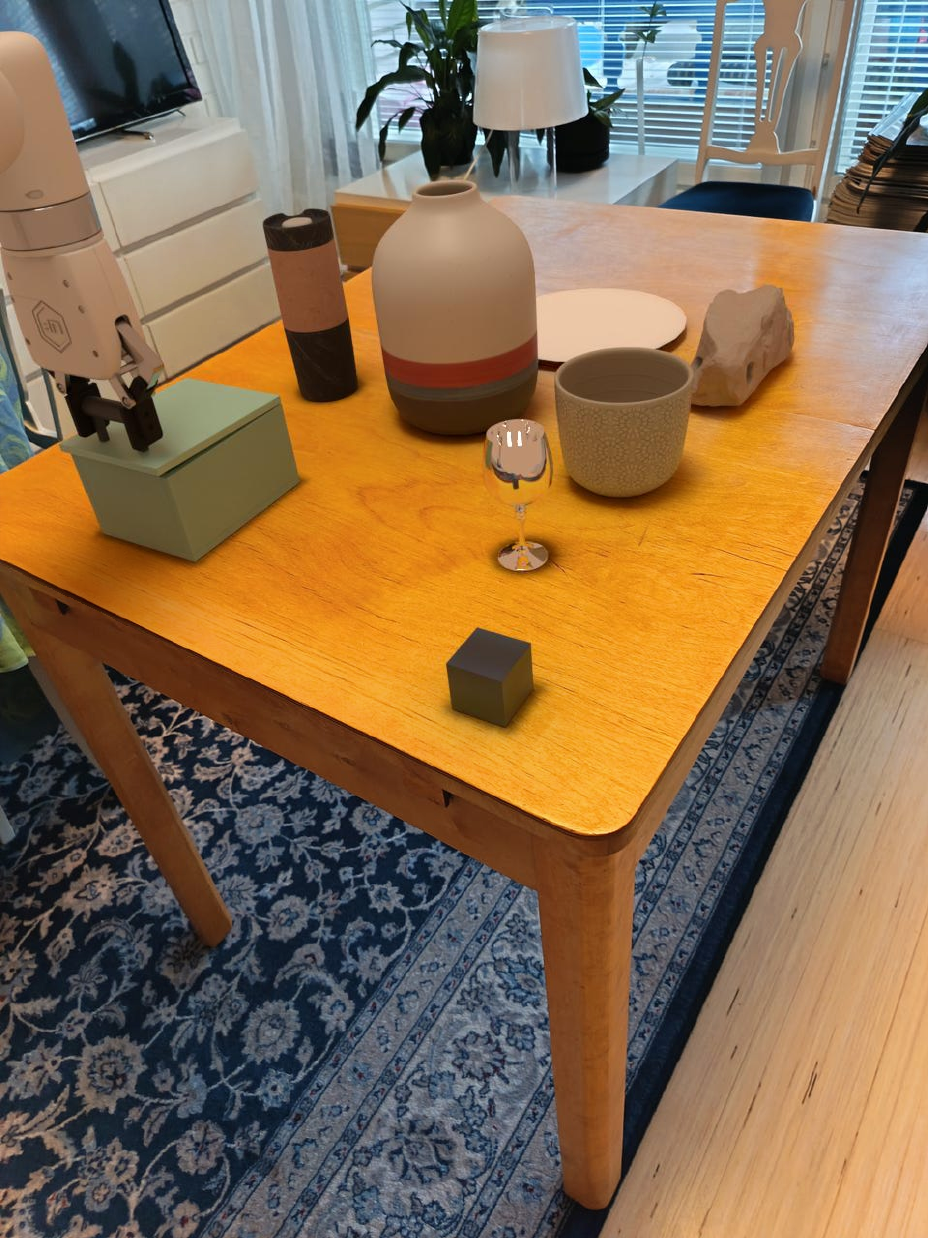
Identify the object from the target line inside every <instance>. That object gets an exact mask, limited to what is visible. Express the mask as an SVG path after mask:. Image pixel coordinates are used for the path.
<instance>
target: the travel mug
mask: <svg viewBox="0 0 928 1238" xmlns="http://www.w3.org/2000/svg"><path fill="white" fill-rule="evenodd" d="M331 217H332V216H331V214H330V212H329V211H328V210H326V209H323V208H315V207H314V208H313V207H310V208H305V209H304V210H303V211H302V212H301V213H299V214H296V215H287V214H286V213H284V212H277V213H275V214H272V215H270V216H267V217H266V218H264V219H263V220H262V229H263V234H264V239H265V244H266V248H267V249H266V250H267V253H268V258H269V259H268V260H269V263H270V268H271V273H272V277H273V283H274V287H275V292H276V296H277V301H278V306H279V311H280V316H281V321H282V325H283V328H284V329H283V330H284V334H285V337H286V341H287V345H288V346H287V347H288V350H289V353H290V358H291V361H292V365H293V369H294V374H295V377H296V381H297V385H298V388H299V392H300V395H301V397H302V398H303V399H305V400H307V401H310V402H315V403H316V402H317V403H318V402H319V403H325V402H332V401H338V400H341V399H344V398H346V397H348V396H351V395H352V394H354V393H355V392H356V391H357V389H358V387H359V381H358V373H357V367H356V359H355V353H354V345H353V338H352V332H351V331H352V330H351V323H350V316H349V311H348V305H347V300H346V295H345V288H344V283H343V279H342V273H341V268H340V267H341V266H340V262H339V256H338V249H337V246H336V239H335V235H334V229H333V224H332V223H333V222H332V218H331Z"/></svg>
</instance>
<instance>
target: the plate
mask: <svg viewBox="0 0 928 1238" xmlns="http://www.w3.org/2000/svg"><path fill="white" fill-rule="evenodd" d="M536 310H537V337H538V362H543V363H551V364H558V365H559V364H561V365H562V364H564V363H565V362H567V361H568V360H570V359H572V358H574V357H576V356H579V355H581V354H584V353H587V352H591V351H595V350H601V349H607V348H617V347H641V348H650V349H656V350H660V349H662V348H663V347H665V346H667V345H669V344H672V343H673V342H674V341H676V340H677V339H678V338H679V337H680V335H681V334H683V333H684V331H685V330H686V327H687V321H688V318H687V317H686V314H685V312H684V311H683V309H682V308H681V307H679V306H678V305H676V304H675V303H674V302H673V301H671V300H669V299H667V298H665V297H662V296H659V295H657V294H653V293H648V292H645V291H644V292H643V291H639V290H634V289H625V288H624V289H623V288H615V287H613V288H612V287H608V288H607V287H603V288H601V287H592V288H591V287H588V288H578V289H567V290H561V291H556V292H550V293H545V294H541V295H538V296H536Z"/></svg>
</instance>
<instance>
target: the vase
mask: <svg viewBox="0 0 928 1238" xmlns="http://www.w3.org/2000/svg"><path fill="white" fill-rule="evenodd" d="M370 277H371V279H370V280H371V290H372V291H371V292H372V298H373V299H372V300H373V305H374V312H375V320H376V327H377V332H378V337H379V338H378V339H379V345H380V346H379V347H380V351H381V352H380V353H381V358H382V363H383V368H384V369H383V370H384V376H385V380H386V386H387V390H388V394H389V397H390V399H391V401H392V403H393V405H394V407H395V409H396V411H397V412H398V413H399V415H400V416H401V417H402V418H403V419H404V421H406V422H407V423H409V424H410V425H412V426H413V427H415V428H417V429H419V430H422V431H424V432H428V433H432V434H435V435H436V434H438V435H443V436H444V435H445V436H446V435H447V436H467V435H475V434H479V433H484V432H487V431H488V430H489V429H490V428H491V427H492V426H494V425H495V424H498V423H500V422H503V421H507V420H514V419H518V417H520V416H521V415H522V414H523V413H524V412H525V411H526V410H527V408H528V407H529V405H530V403H531V402H532V399H533V397H534V395H535V392H536V388H537V384H538V377H539V361H538V337H537V310H536V297H537V287H536V285H537V284H536V270H535V263H534V257H533V254H532V250H531V246H530V245H529V241H528V240H527V238H526V236H525V234H524V232H523V231H522V229H521V228H520V227H519V226H518V224H517V223H515V222H514V221H513V220H512V219H511V218H510V217H508V216H507V214H505V213H503V212H502V211H500V210H498V209H497V208H496V207H494V206H492V205H491V204H489V203H488V202H486V201H485V200H484V199H483V198H482V197H481V195H480V193H479V189H478V185H477V183H476V182H473V181H471V180H466V179H465V180H464V179H446V180H445V179H444V180H437V181H432V182H427V183H425V184H422V185H421V184H420V185H419V186H417V187H415V188H414V189H413V190H412V192H411V203H410V205H409V207H408V209H406V210H405V211H404V213H402V215H400V216H399V218H397V219H396V220H395V221H394V223H392V224H391V226H389V228H388V229H387V230H386V231H385V232H384V234H383V235H382V236H381V238H380V240H379V242H378V244H377V246H376V248H375V251H374V255H373V259H372V265H371V276H370Z"/></svg>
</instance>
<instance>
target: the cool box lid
mask: <svg viewBox="0 0 928 1238" xmlns="http://www.w3.org/2000/svg"><path fill="white" fill-rule="evenodd" d="M101 397H102V396H101ZM101 397H97V396H92V395H88V396H86V397H84V399H83V400H82V403H81V408H82V411H83V412H84V414H86V415H88V416H91V417H92V420H93V423H94V426H95V429H96V433H94V434H92V435H91V436H89V437H87V438H84V437H80V436H79V435H78V433H76V434H75V435H73V436H70V437H69V438H67V439H64V440H62V441H60V442H59V443H58V448H59V449H60V451H61V452H63V453H67V454H70V455H71V454H74V455H78V456H81V457H85V458H89V459H93V460H97V461H101V462H104V463H108V464H112V465H116V466H120V467H124V468H128V469H131V470H135V471H139V472H143V473H147V474H151V475H154V476H160V475H162V474H163V473H165V472H167V471H168V470H170V469H172V468H173V467H175V466H177V465H178V464H180V463H182V462H183V461H185V460H187V459H188V458H190V457H192V456H193V455H195V454H197V453H198V452H200V451H202V450H203V449H205V448H207V447H208V446H210V445H212V444H213V443H215V442H217V441H218V440H220V439H222V438H223V437H225V436H227V435H228V434H230V433H232V432H233V431H235V430H237V429H238V428H240V427H242V426H243V425H245V424H247V423H248V422H250V421H252V420H253V419H255V418H257V417H258V416H260V415H262V414H263V413H265V412H267V411H268V410H270V409H272V408H273V407H275V406H277V405H278V404H280V403H282V399H281V395H280V394H275V393H271V392H265V391H259V390H253V389H248V388H243V387H237V386H234V385H233V386H232V385H227V384H222V383H218V382H217V383H216V382H212V381H205V380H200V379H196V378H195V379H194V378H190V377H185V378H183V379H181V380H179V381H177V382H175V383H173V384H171V385H169V386H167V387H165V388H163V389H162V390H159V391H158V392H155V395H154V396H153V397H152V399H153V402H154V405H155V409H156V412H157V415H158V418H159V421H160V424H161V428H162V431H163V437H162V438H161V439H160V440H158V441H156V442H155V443H153V444H151V445H150V446H148V447H146V448H144V449H143V450H141V451H136V450H133V448H132V446H131V444H130V441H129V438H128V435H127V432H126V429H125V426H124V423H123V420H122V417H121V414H120V411H119V408H121V407H123V406H124V405H123V404H122V402H121V401H120V400H114V399H110V398H105V397H102V398H101ZM103 419H105V420H110V424H109V425H108V426H107V427H106V426H105V423H104V420H103Z"/></svg>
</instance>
